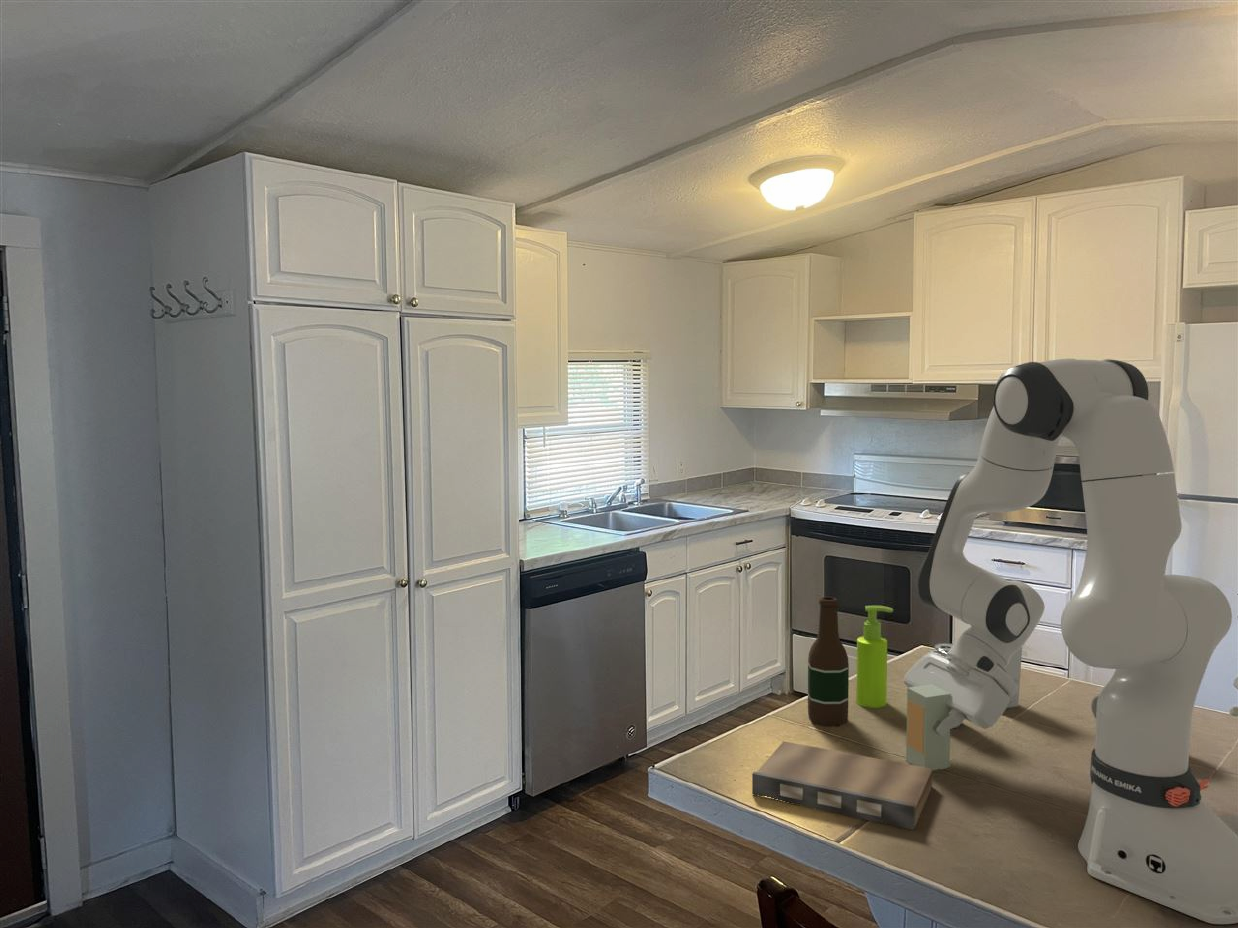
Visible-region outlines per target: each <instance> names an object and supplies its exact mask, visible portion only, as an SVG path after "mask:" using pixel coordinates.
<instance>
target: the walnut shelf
mask: <svg viewBox="0 0 1238 928" xmlns="http://www.w3.org/2000/svg"><path fill="white" fill-rule="evenodd" d="M933 772H934V771H933V769H931V768H926V767H920V766H915V765H912V764H909V763H903V762H899V761H892V760H886V759H883V758H876V757H872V756H871V757H870V756H865V755H860V754H854V753H849V752H844V751H839V750H838V751H837V750H832V749H828V748H822V747H817V746H811V745H806V744H801V743H795V742H790V741H782V742H781V743H780V745H779V746H777V748H776V749H775V751H773V753H772V754H771V755H770V756H769V758H767V760H766V761H765V762H764V763H763V764H762V766H761V767H760V768H759V769H758V770H757V771H753V772H752V773H751V775H752V776H751V777H752V781H751V782H752V783H751V785H752V788H751V789H752V791H751V792H752V794H754V795H759V796H767V797H771V798H774V799H778V800H782V801H785V802H784V803H786V802H789V803H788V804H791V803H794V804H793V805H796V804H798V805H797V806H800V805H802V806H801V807H805V806H806V807H807V808H809V807H811V808H810V809H814V808H816V809H815V810H820V811H823V812H829V813H833V814H837V815H842V816H845V817H846V816H847V817H850V818H851V817H852V818H855V819H860V820H866V821H870V822H875V823H880V824H883V825H887V826H892V827H898V828H902V829H907V830H912V831H914V830H915V828H916V826H917V823H918V821H919V819H920V816H921V814H922V811H923V809H924V807H925V804H926V802H927V800H928V798H929V795H930V794H931V793H930V792H931V791H932V788H933ZM752 794H751V795H752ZM754 795H753V796H754ZM759 796H758V797H759ZM782 801H781V802H782Z"/></svg>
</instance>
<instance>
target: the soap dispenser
mask: <svg viewBox="0 0 1238 928" xmlns="http://www.w3.org/2000/svg"><path fill="white" fill-rule="evenodd" d="M864 609H865V612H867V620H865V621H864V622H863V636H859V637H857V639H856V687H855V688H856V699H855V700H856V701H855V702H856V704H857V705H858V706H861V707H864V708H868V709H869V708H870V709H880V708H883V707H885V706H886V705H887V690H888V689H887V684H888V683H887V680H888V679H887V678H888V677H887V675H888V640H887V639H886V638H883V637H882V634H881V633H882V624H881V622H879V621H878V620H877V617H878V612H886V613H893V612H894V609H893V608H892V607H888V606H884V605H865V606H864Z"/></svg>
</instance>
